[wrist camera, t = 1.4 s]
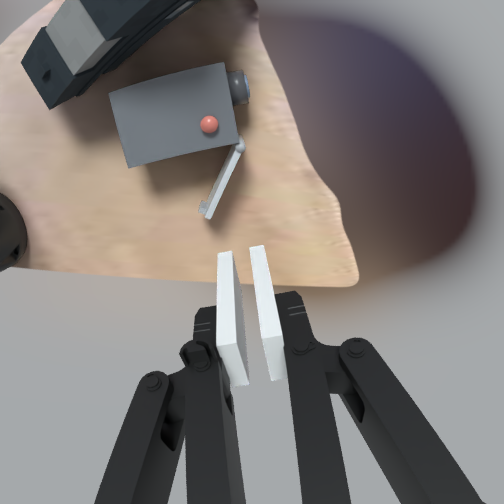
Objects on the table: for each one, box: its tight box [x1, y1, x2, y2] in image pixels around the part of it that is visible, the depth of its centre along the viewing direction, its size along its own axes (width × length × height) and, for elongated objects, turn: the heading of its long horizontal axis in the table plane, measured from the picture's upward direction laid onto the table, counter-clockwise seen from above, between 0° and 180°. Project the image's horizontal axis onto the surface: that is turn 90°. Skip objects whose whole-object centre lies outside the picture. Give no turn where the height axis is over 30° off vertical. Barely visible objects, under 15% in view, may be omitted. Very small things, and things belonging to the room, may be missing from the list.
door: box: [198, 134, 246, 219], centre depth 42 cm, size 11×2×6 cm, turn 155°
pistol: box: [21, 0, 201, 110], centre depth 28 cm, size 10×27×20 cm, turn 119°
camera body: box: [108, 62, 250, 168], centre depth 37 cm, size 16×10×8 cm, turn 100°
